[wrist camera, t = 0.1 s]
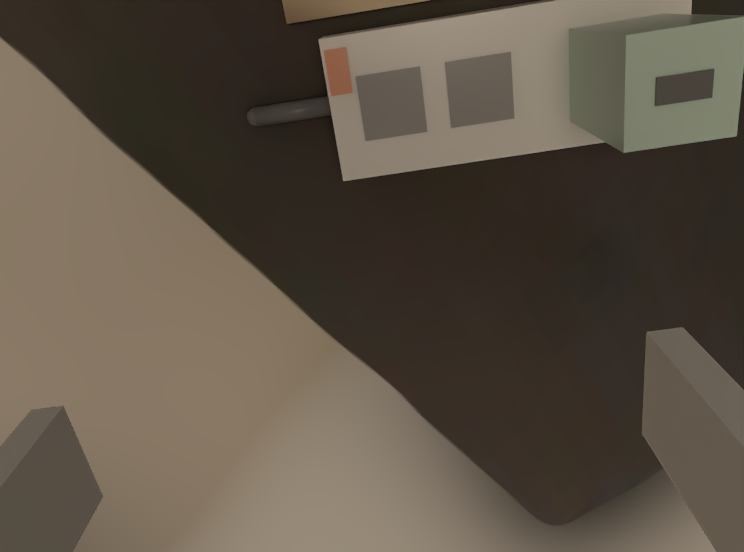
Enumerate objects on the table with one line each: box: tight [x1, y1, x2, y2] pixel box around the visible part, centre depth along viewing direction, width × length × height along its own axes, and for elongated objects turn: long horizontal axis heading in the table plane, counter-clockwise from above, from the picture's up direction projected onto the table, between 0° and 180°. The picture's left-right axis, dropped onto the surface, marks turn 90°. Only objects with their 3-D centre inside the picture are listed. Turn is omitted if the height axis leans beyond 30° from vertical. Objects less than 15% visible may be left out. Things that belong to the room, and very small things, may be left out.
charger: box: [569, 14, 744, 153], centre depth 30 cm, size 5×5×10 cm
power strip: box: [247, 0, 692, 181], centre depth 35 cm, size 26×8×4 cm, turn 99°
